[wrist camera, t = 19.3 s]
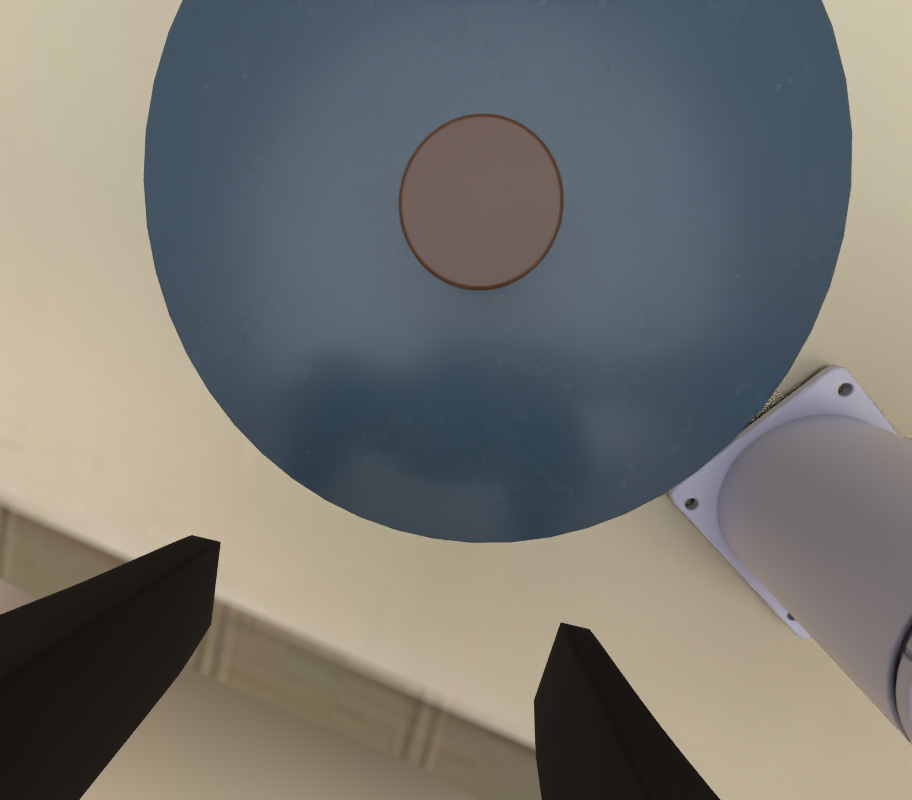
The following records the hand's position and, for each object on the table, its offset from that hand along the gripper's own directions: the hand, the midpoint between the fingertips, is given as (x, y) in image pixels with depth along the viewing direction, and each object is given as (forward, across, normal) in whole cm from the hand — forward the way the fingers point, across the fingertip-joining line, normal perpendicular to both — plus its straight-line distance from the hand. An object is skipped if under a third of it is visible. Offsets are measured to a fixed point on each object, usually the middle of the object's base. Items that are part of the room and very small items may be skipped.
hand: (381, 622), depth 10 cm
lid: (+3, 0, -8) cm, 9 cm away
